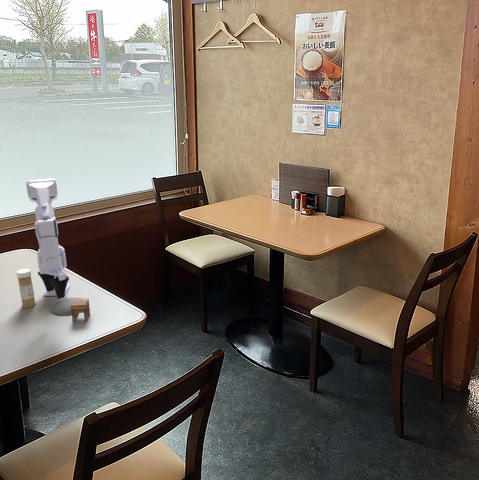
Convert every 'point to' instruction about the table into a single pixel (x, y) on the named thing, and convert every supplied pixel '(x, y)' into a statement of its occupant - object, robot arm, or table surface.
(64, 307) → the mat
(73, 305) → the stool
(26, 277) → the sprinkles bottle
